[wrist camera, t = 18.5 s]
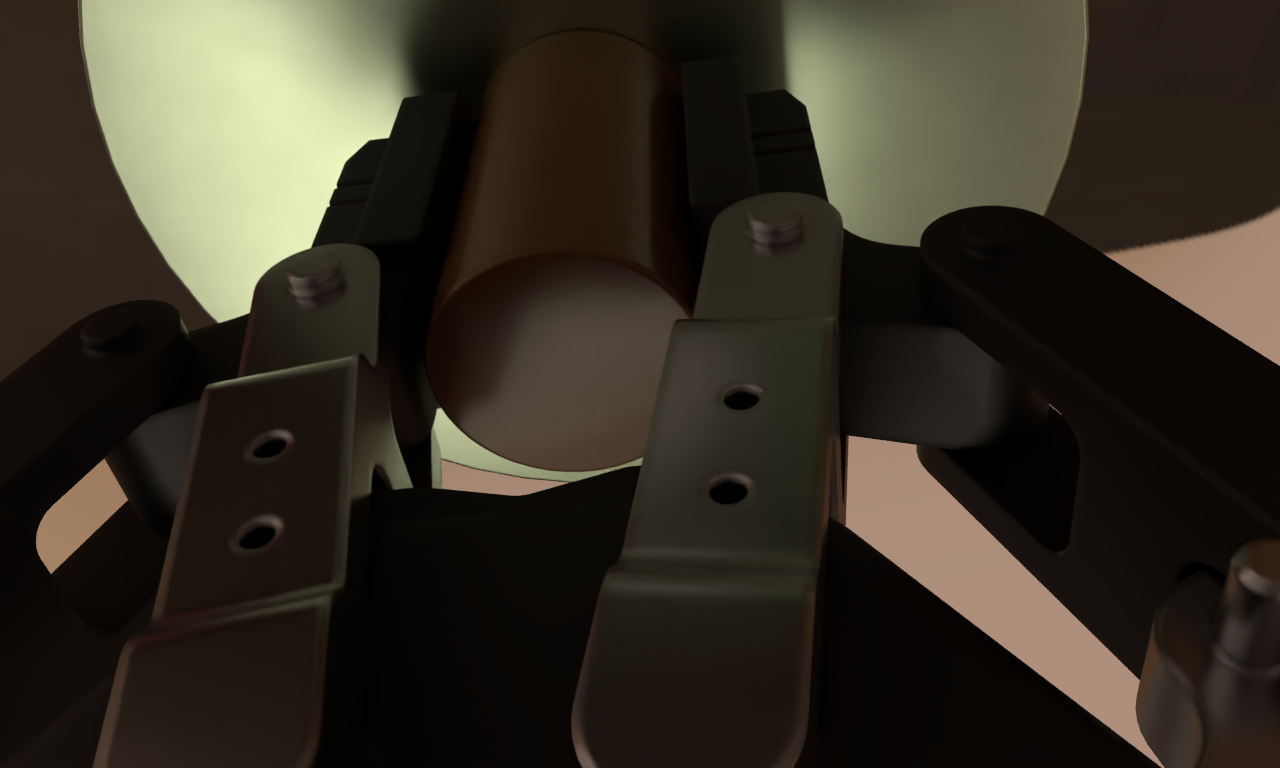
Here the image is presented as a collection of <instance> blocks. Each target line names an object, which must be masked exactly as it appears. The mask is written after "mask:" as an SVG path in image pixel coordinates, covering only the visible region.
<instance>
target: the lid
mask: <svg viewBox="0 0 1280 768" xmlns="http://www.w3.org/2000/svg"><path fill="white" fill-rule="evenodd" d="M78 13H79V36H80V46H81V51H82V57H83V62H84V67H85V73H86V78H87V84H88V89H89V94H90V100H91V105H92V108H93V111H94V114H95V117H96V120H97V123H98V126H99V129H100V133H101V136H102V139H103V142H104V145H105V148H106V151H107V154H108V157H109V160H110V163H111V165H112V167H113V169H114V171H115V173H116V176H117V178H118V180H119V182H120V184H121V186H122V188H123V190H124V192H125V195H126V197H127V199H128V201H129V203H130V205H131V207H132V209H133V211H134V213H135V216H136V217H137V219H138V221H139V222H140V224H141V225H142V227H143V228H144V230H145V232H146V233H147V235H148V236H149V238H150V239H151V241H152V243H153V244H154V246H155V247H156V249H157V251H158V252H159V254H160V255H161V257H162V258H163V260H164V262H165V263H166V265H167V266H168V267H169V269H170V270H171V271H172V272H173V274H174V275H175V276H176V277H177V279H178V280H179V281H180V282H181V283H182V285H183V286H184V287H185V288H186V290H187V291H188V292H189V293H190V295H191V296H192V297H193V298H194V300H195V301H196V302H197V303H198V305H199V306H200V307H201V308H202V309H203V310H204V311H205V312H206V313H207V314H208V315H209V316H210V317H211V318H212V319H213V320H214V321H215V322H216V323H221V322H224V321H227V320H231V319H234V318H237V317H240V316H242V315H245V314H248V313H250V308H251V303H252V298H253V292H254V289H255V286H256V284H257V282H258V281H259V279H260V278H261V277H262V276H263V274H264V273H265V272H266V271H268V270H269V269H270V268H271V267H272V266H274V265H275V264H277V263H278V262H280V261H281V260H283V259H285V258H287V257H289V256H291V255H293V254H296V253H298V252H300V251H303V250H306V249H309V248H311V246H312V243H313V241H314V239H315V236H316V234H317V231H318V229H319V226H320V224H321V221H322V219H323V216H324V214H325V211H326V209H327V207H330V204H329V201H330V199H331V196H332V194H333V191H334V189H337V185H336V184H337V181H338V179H339V176H340V174H341V172H342V169H343V167H344V164H345V162H346V161H347V160H348V159H349V158H350V157H351V156H352V155H354V154H355V153H356V152H357V151H358V150H359V149H360V148H361V147H362V146H363V145H365V144H366V143H367V142H368V141H369V140H375V139H383V138H389V136H390V133H391V130H392V127H393V125H394V122H395V119H396V116H397V113H398V111H399V108H400V105H401V102H402V100H403V98H405V97H412V96H420V95H428V94H436V93H444V92H452V91H460V90H461V91H462V92H463V93H464V95H465V97H466V99H467V102H468V105H469V108H470V112H471V116H472V120H473V124H474V128H475V131H474V135H473V140H472V144H471V148H470V152H469V156H468V160H467V165H466V169H465V173H464V177H463V181H462V185H461V189H460V194H459V198H458V202H457V206H456V210H455V214H454V219H453V223H452V227H451V231H450V235H449V239H448V244H447V248H446V252H445V256H444V260H443V264H442V269H441V273H440V277H439V281H438V285H437V289H436V294H435V298H434V302H433V306H432V310H431V314H430V319H429V323H428V327H427V331H426V337H425V343H424V363H425V369H426V375H427V378H428V381H429V384H430V387H431V390H432V392H433V394H434V396H435V398H436V400H437V402H438V404H439V406H440V407H441V409H437V412H436V417H435V421H434V425H433V427H434V430H435V433H436V436H437V439H438V442H439V445H440V451H441V460H445V461H448V462H452V463H456V464H459V465H462V466H466V467H469V468H473V469H478V470H483V471H488V472H494V473H499V474H504V475H509V476H515V477H520V478H526V479H538V480H548V481H559V482H570V483H571V482H574V481H578V480H581V479H585V478H589V477H592V476H596V475H599V474H603V473H606V472H610V471H613V470H617V469H620V468H624V467H629V466H639V465H641V464H642V460H643V455H644V451H645V447H646V442H647V438H648V433H649V429H650V424H651V420H652V415H653V411H654V407H655V402H656V398H657V393H658V389H659V384H660V380H661V375H662V371H663V367H664V362H665V358H666V353H667V349H668V344H669V340H670V335H671V331H672V328H673V325H674V322H675V321H676V320H677V319H692V317H693V312H694V307H695V302H696V297H697V292H698V288H699V283H700V278H701V277H700V275H699V273H698V268H697V260H696V252H695V244H694V236H693V228H692V220H691V212H690V203H689V185H688V168H687V151H686V134H685V117H684V100H683V83H682V65H681V63H682V62H690V61H698V60H706V59H714V58H722V57H729V56H737V55H738V56H739V61H740V68H741V75H742V81H743V88H744V94H748V93H756V92H764V91H772V90H780V89H785V90H787V91H788V92H789V93H790V94H792V95H793V96H794V97H795V98H797V99H798V100H799V101H801V102H802V103H803V104H804V105H806V108H807V112H808V116H809V121H810V125H811V131H812V133H813V137H814V142H815V148H816V150H817V154H818V158H819V163H820V167H821V171H822V175H823V179H824V184H825V188H826V192H827V196H828V200H829V203H830V204H832V205H833V206H834V207H835V208H836V209H837V210H838V211H839V212H840V214H841V216H842V221H843V228H845V229H846V230H848V231H849V232H851V233H853V234H855V235H857V236H859V237H862V238H865V239H868V240H871V241H875V242H880V243H885V244H893V245H904V246H917V247H920V239H921V236H922V233H923V232H924V230H925V229H926V228H927V227H928V226H929V225H930V224H931V223H932V222H933V221H935V220H936V219H938V218H939V217H941V216H943V215H946V214H948V213H950V212H953V211H956V210H959V209H964V208H969V207H976V206H992V205H996V206H1009V207H1015V208H1021V209H1024V210H1028V211H1031V212H1034V213H1037V214H1039V215H1042V216H1043V217H1044V215H1045V213H1046V211H1047V209H1048V206H1049V204H1050V201H1051V198H1052V196H1053V193H1054V191H1055V188H1056V186H1057V183H1058V181H1059V178H1060V176H1061V173H1062V171H1063V168H1064V165H1065V163H1066V160H1067V158H1068V155H1069V151H1070V147H1071V143H1072V139H1073V134H1074V130H1075V126H1076V122H1077V118H1078V114H1079V110H1080V106H1081V102H1082V98H1083V91H1084V81H1085V72H1086V62H1087V53H1088V43H1089V8H1088V0H78Z"/></svg>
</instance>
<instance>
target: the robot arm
mask: <svg viewBox="0 0 1280 768" xmlns="http://www.w3.org/2000/svg"><path fill="white" fill-rule="evenodd" d="M681 65H682V83H683V100H684V117H685V134H686V151H687V168H688V185H689V203H690V212H691V220H692V228H693V236H694V244H695V252H696V260H697V268H698V273H699V275H700V277H701V278H700V283H699V288H698V292H697V297H696V302H695V307H694V312H693V317H692V319H677V320H676V321H675V322H674V325H673V328H672V331H671V335H670V340H669V344H668V349H667V353H666V358H665V362H664V367H663V371H662V375H661V380H660V384H659V389H658V393H657V398H656V402H655V407H654V411H653V415H652V420H651V424H650V429H649V433H648V438H647V442H646V447H645V451H644V455H643V460H642V464H641V465H639V466H629V467H624V468H620V469H617V470H613V471H610V472H606V473H603V474H599V475H596V476H592V477H589V478H585V479H581V480H578V481H574V482H571V483H568V484H564V485H560V486H557V487H554V488H550V489H546V490H543V491H539V492H536V493H532V494H527V495H521V496H509V495H498V494H488V493H478V492H468V491H458V490H448V489H442V475H441V451H440V445H439V442H438V439H437V436H436V433H435V430H434V427H433V425H434V421H435V417H436V412H437V409H441V407H440V406H439V404H438V402H437V400H436V398H435V396H434V394H433V392H432V390H431V387H430V384H429V381H428V378H427V375H426V369H425V363H424V343H425V337H426V331H427V327H428V323H429V319H430V314H431V310H432V306H433V302H434V298H435V294H436V289H437V285H438V281H439V277H440V273H441V269H442V264H443V260H444V256H445V252H446V248H447V244H448V239H449V235H450V231H451V227H452V223H453V219H454V214H455V210H456V206H457V202H458V198H459V194H460V189H461V185H462V181H463V177H464V173H465V169H466V165H467V160H468V156H469V152H470V148H471V144H472V140H473V135H474V131H475V128H474V124H473V120H472V116H471V112H470V108H469V105H468V102H467V99H466V97H465V95H464V93H463V92H462V91H461V90H460V91H452V92H444V93H436V94H428V95H420V96H412V97H405V98H403V100H402V102H401V105H400V108H399V111H398V113H397V116H396V119H395V122H394V125H393V127H392V130H391V133H390V136H389V138H383V139H375V140H369V141H368V142H367V143H366V144H365V145H363V146H362V147H361V148H360V149H359V150H358V151H357V152H356V153H355V154H354V155H352V156H351V157H350V158H349V159H348V160H347V161H346V162H345V164H344V167H343V169H342V172H341V174H340V176H339V179H338V181H337V184H336V185H337V189H334V191H333V194H332V196H331V199H330V201H329V204H330V207H327V209H326V211H325V214H324V216H323V219H322V221H321V224H320V226H319V229H318V231H317V234H316V236H315V239H314V241H313V243H312V246H311V248H309V249H306V250H303V251H300V252H298V253H296V254H293V255H291V256H289V257H287V258H285V259H283V260H281V261H280V262H278V263H277V264H275V265H274V266H272V267H271V268H270V269H269V270H268V271H266V272H265V273H264V274H263V276H262V277H261V278H260V279H259V281H258V282H257V284H256V286H255V289H254V292H253V298H252V303H251V308H250V313H248V314H245V315H242V316H240V317H237V318H234V319H231V320H227V321H224V322H221V323H217V324H214V325H211V326H208V327H204V328H201V329H198V330H194V331H191V332H188V331H187V329H186V327H185V325H184V323H183V321H182V319H181V317H180V314H179V312H178V310H177V309H176V308H175V307H174V306H172V305H170V304H168V303H166V302H162V301H157V300H137V301H129V302H125V303H120V304H117V305H113V306H110V307H107V308H104V309H102V310H99V311H97V312H95V313H93V314H91V315H89V316H87V317H85V318H83V319H82V320H80V321H78V322H77V323H75V324H74V325H72V326H71V327H70V328H68V329H67V330H66V331H64V332H63V333H62V334H61V335H59V336H58V337H57V338H55V339H54V340H53V341H52V342H50V343H49V344H48V345H47V346H45V347H44V348H43V349H42V350H40V351H39V352H38V353H36V354H35V355H34V356H33V357H31V358H30V359H29V360H28V361H26V362H25V363H24V364H23V365H21V366H20V367H19V368H17V369H16V370H15V371H14V372H12V373H11V374H10V375H9V376H7V377H6V378H5V379H3V380H2V381H1V382H0V768H1161V767H1160V766H1159V765H1157V764H1156V763H1155V762H1153V761H1152V760H1151V759H1149V758H1148V757H1147V756H1146V755H1144V754H1143V753H1142V752H1140V751H1139V750H1138V749H1136V748H1135V747H1134V746H1133V745H1131V744H1130V743H1128V742H1127V741H1126V740H1125V739H1123V738H1122V737H1121V736H1119V735H1118V734H1117V733H1115V732H1114V731H1113V730H1111V729H1110V728H1109V727H1108V726H1106V725H1105V724H1103V723H1102V722H1101V721H1100V720H1098V719H1097V718H1096V717H1094V716H1093V715H1091V714H1090V713H1089V712H1088V711H1087V710H1085V709H1084V708H1083V707H1081V706H1080V705H1079V704H1077V703H1076V702H1075V701H1074V700H1072V699H1071V698H1069V697H1068V696H1067V695H1066V694H1064V693H1063V692H1062V691H1060V690H1059V689H1058V688H1056V687H1055V686H1054V685H1052V684H1051V683H1050V682H1048V681H1047V680H1046V679H1045V678H1043V677H1042V676H1041V675H1039V674H1038V673H1037V672H1035V671H1034V670H1033V669H1032V668H1030V667H1029V666H1028V665H1026V664H1025V663H1024V662H1022V661H1021V660H1020V659H1018V658H1017V657H1016V656H1015V655H1013V654H1012V653H1011V652H1009V651H1008V650H1007V649H1005V648H1004V647H1003V646H1001V645H1000V644H999V643H998V642H996V641H995V640H994V639H992V638H991V637H990V636H988V635H987V634H986V633H984V632H983V631H982V630H981V629H979V628H978V627H976V626H975V625H974V624H973V623H971V622H970V621H969V620H968V619H966V618H965V617H964V616H962V615H961V614H960V613H958V612H957V611H956V610H954V609H953V608H952V607H950V606H949V605H948V604H947V603H945V602H944V601H942V600H941V599H940V598H939V597H937V596H936V595H935V594H933V593H932V592H931V591H929V590H928V589H927V588H925V587H924V586H923V585H922V584H920V583H919V582H918V581H917V580H915V579H914V578H913V577H911V576H910V575H909V574H907V573H906V572H905V571H903V570H902V569H901V568H899V567H898V566H897V565H895V564H894V563H893V562H892V561H890V560H889V559H888V558H886V557H885V556H884V555H883V554H881V553H880V552H879V551H877V550H876V549H874V548H873V547H872V546H871V545H869V544H868V543H867V542H865V541H864V540H863V539H862V538H860V537H859V536H857V535H856V534H855V533H854V532H852V531H851V530H850V529H848V528H847V527H845V525H846V497H847V467H848V438H849V435H850V436H857V437H864V438H872V439H879V440H886V441H894V442H901V443H908V444H916V445H917V454H918V458H919V460H920V462H921V464H922V465H923V467H924V468H925V469H926V470H927V471H928V472H929V473H930V474H931V475H932V476H933V477H934V478H935V479H936V480H937V481H938V482H939V483H940V484H941V485H942V486H943V487H944V488H945V489H946V490H947V491H948V492H949V493H950V494H951V495H952V496H953V497H954V498H955V499H956V500H957V501H958V502H959V503H960V504H961V505H962V506H963V507H964V508H965V509H966V510H967V511H968V512H969V513H970V514H971V515H973V516H974V518H975V519H976V520H977V521H979V522H980V523H981V524H982V525H983V526H984V527H985V528H986V529H987V530H988V531H989V532H990V533H991V534H992V535H993V536H994V537H995V538H996V539H997V540H998V541H999V542H1000V543H1001V544H1002V545H1003V546H1004V547H1005V548H1006V549H1007V550H1008V551H1009V552H1010V553H1011V554H1012V555H1013V556H1014V557H1015V558H1016V559H1017V560H1018V561H1019V562H1020V563H1021V564H1022V565H1023V566H1024V567H1025V568H1026V569H1027V570H1028V571H1029V572H1030V573H1031V574H1032V575H1033V576H1035V577H1036V578H1037V580H1038V581H1039V582H1040V583H1042V584H1043V585H1044V586H1045V587H1046V588H1047V589H1048V590H1049V591H1050V592H1051V593H1052V594H1053V595H1054V596H1055V597H1056V598H1057V599H1058V600H1059V601H1060V602H1061V603H1062V604H1063V605H1064V606H1065V607H1066V608H1067V609H1068V610H1069V611H1070V612H1071V613H1072V614H1073V615H1074V616H1075V617H1076V618H1077V619H1078V620H1079V621H1080V622H1081V623H1082V624H1083V625H1084V626H1085V627H1086V628H1087V629H1088V630H1089V631H1090V632H1091V633H1092V634H1094V636H1095V637H1097V639H1098V640H1099V641H1101V643H1103V644H1104V645H1105V646H1106V647H1107V648H1108V649H1109V650H1110V651H1111V652H1112V653H1113V654H1114V655H1115V656H1116V657H1117V658H1118V659H1119V660H1120V661H1121V662H1122V663H1123V664H1124V665H1125V666H1126V667H1127V668H1128V669H1129V670H1130V671H1131V672H1132V673H1133V674H1134V675H1135V676H1136V677H1137V678H1138V679H1139V680H1140V684H1139V689H1138V693H1137V699H1136V715H1137V721H1138V724H1139V727H1140V731H1141V733H1142V735H1143V737H1144V739H1145V741H1146V742H1147V744H1148V745H1149V747H1150V748H1151V750H1152V751H1153V752H1154V754H1155V755H1156V756H1157V758H1158V759H1159V760H1160V762H1161V763H1162V765H1163V766H1164V767H1165V768H1280V366H1279V365H1277V364H1276V363H1274V362H1272V361H1271V360H1269V359H1268V358H1266V357H1264V356H1263V355H1261V354H1260V353H1258V352H1257V351H1255V350H1254V349H1252V348H1250V347H1249V346H1247V345H1245V344H1244V343H1243V342H1241V341H1239V340H1238V339H1236V338H1234V337H1233V336H1231V335H1230V334H1228V333H1227V332H1225V331H1224V330H1222V329H1220V328H1219V327H1217V326H1216V325H1214V324H1213V323H1211V322H1209V321H1208V320H1206V319H1205V318H1203V317H1201V316H1200V315H1198V314H1197V313H1195V312H1194V311H1192V310H1191V309H1189V308H1187V307H1186V306H1184V305H1183V304H1181V303H1179V302H1178V301H1176V300H1175V299H1173V298H1172V297H1170V296H1169V295H1167V294H1165V293H1164V292H1162V291H1161V290H1159V289H1158V288H1156V287H1154V286H1153V285H1151V284H1150V283H1148V282H1146V281H1145V280H1143V279H1142V278H1140V277H1139V276H1137V275H1135V274H1134V273H1132V272H1131V271H1129V270H1128V269H1126V268H1124V267H1123V266H1121V265H1120V264H1118V263H1117V262H1115V261H1113V260H1112V259H1110V258H1109V257H1107V256H1106V255H1104V254H1103V253H1101V252H1099V251H1098V250H1096V249H1095V248H1093V247H1092V246H1090V245H1088V244H1087V243H1085V242H1084V241H1082V240H1080V239H1079V238H1077V237H1076V236H1074V235H1073V234H1071V233H1069V232H1068V231H1066V230H1065V229H1063V228H1062V227H1060V226H1058V225H1057V224H1055V223H1054V222H1052V221H1051V220H1049V219H1047V218H1045V217H1043V216H1042V215H1039V214H1037V213H1034V212H1031V211H1028V210H1024V209H1021V208H1015V207H1009V206H996V205H992V206H976V207H969V208H964V209H959V210H956V211H953V212H950V213H948V214H946V215H943V216H941V217H939V218H938V219H936V220H935V221H933V222H932V223H931V224H930V225H929V226H928V227H927V228H926V229H925V230H924V232H923V233H922V236H921V239H920V247H917V246H904V245H893V244H885V243H880V242H875V241H871V240H868V239H865V238H862V237H859V236H857V235H855V234H853V233H851V232H849V231H848V230H846V229H845V228H843V221H842V216H841V214H840V212H839V211H838V210H837V209H836V208H835V207H834V206H833V205H832V204H830V203H829V200H828V196H827V192H826V188H825V184H824V179H823V175H822V171H821V167H820V163H819V158H818V154H817V150H816V148H815V142H814V137H813V133H812V131H811V125H810V121H809V116H808V112H807V108H806V105H804V104H803V103H802V102H801V101H799V100H798V99H797V98H795V97H794V96H793V95H792V94H790V93H789V92H788V91H787V90H785V89H780V90H772V91H764V92H756V93H748V94H744V88H743V81H742V75H741V68H740V61H739V56H738V55H737V56H729V57H722V58H714V59H706V60H698V61H690V62H682V63H681ZM1049 404H1050V405H1051V406H1053V407H1054V408H1055V409H1056V410H1057V411H1059V412H1060V413H1061V414H1060V413H1058V412H1057V411H1056V410H1055V409H1053V408H1052V407H1051V406H1050V405H1049ZM103 459H105V460H106V462H107V464H108V465H109V467H110V469H111V471H112V472H113V474H114V476H115V478H116V479H117V481H118V483H119V485H120V486H121V488H122V490H123V492H124V493H125V495H126V497H127V498H128V501H127V502H126V503H125V504H123V506H121V507H120V508H119V509H118V510H117V511H116V512H115V513H114V514H113V515H112V516H111V517H110V518H109V519H108V520H107V521H106V522H105V523H104V524H103V525H102V526H101V527H100V528H99V529H97V530H96V531H95V532H94V533H93V534H92V535H91V536H90V537H89V538H88V539H87V540H86V541H85V542H84V543H83V544H82V545H81V546H80V547H79V548H78V549H77V550H76V551H75V552H74V553H73V554H72V555H71V556H70V557H68V558H67V559H66V560H65V561H64V562H63V563H62V564H61V565H60V566H59V567H58V568H57V569H56V570H55V571H54V572H53V573H52V574H50V572H49V571H48V569H47V568H46V566H45V565H44V563H43V562H42V560H41V559H40V557H39V555H38V552H37V549H36V534H37V530H38V527H39V524H40V522H41V520H42V518H43V516H44V515H45V513H46V512H47V511H48V510H49V509H50V508H51V506H52V505H53V504H55V503H56V502H57V501H58V500H59V499H60V498H61V497H62V496H63V495H64V494H66V493H67V492H68V491H69V490H70V489H71V488H72V487H73V486H74V485H75V484H77V482H79V481H80V480H81V479H82V478H83V477H84V476H85V475H86V474H87V473H89V472H90V471H91V470H92V469H93V468H94V467H95V466H96V465H97V464H98V463H100V462H101V461H102V460H103Z"/></svg>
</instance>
